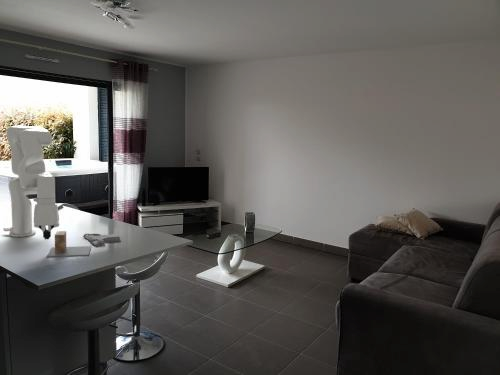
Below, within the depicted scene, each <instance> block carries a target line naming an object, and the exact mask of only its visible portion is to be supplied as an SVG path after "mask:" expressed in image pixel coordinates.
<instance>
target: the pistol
mask: <svg viewBox="0 0 500 375" xmlns="http://www.w3.org/2000/svg"><path fill="white" fill-rule="evenodd" d="M82 237H83V238H84V239H86V240H87V241H89V242H90V245H94V246H96V247H102V246H105V244H106V243H115V242H120V241H121V237H120V235H119V233H114V234H113V233H112V234H100V233H84V234H83V235H82Z"/></svg>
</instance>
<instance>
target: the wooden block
mask: <svg viewBox="0 0 500 375" xmlns="http://www.w3.org/2000/svg"><path fill="white" fill-rule="evenodd" d="M54 247H55V254H57V253H65V251H66V247H67V230H62V231H61V230H60V231H59V230H57V231H56V233H54Z"/></svg>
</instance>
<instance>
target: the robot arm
mask: <svg viewBox="0 0 500 375" xmlns="http://www.w3.org/2000/svg"><path fill="white" fill-rule="evenodd" d="M5 134H6V139H7V141H8V144H9V147H10V158H11V160H10V162H11V164H10V165H11V171H12V173H13V174H14V175H17V176H18V177H14V178H12V179H10V180H9V182H8V188H9V194H10V204H11V226H10V227H9V226H8V227H6V226H4V227H3V231H4V232H8V236H10V237H11V238H12V237H14V238H23V237H25V238H26V237H29V236H33V235H35V234H36V230H34V229H33V227H34V228H37V229H40V230H41V232H42V238H44V240H45V241H46V240H49V239H50V238H51V237H52V233H51V232H52V230H53V229H54V228H59V226H60V215H59V207H58V203H56V177H55V176H54V175H53V174H52V173H50V172H46V164H45V161H44V160H43V159H44V157H45V156H44V155H45V154H44V151H43V150H44V149H43V147H50V146H52V143H53V136H52V134H51V132H50V131H49V130H48V129H46V128H45V127H42V126H27V125H12V126H8V127H7V129H6V133H5ZM29 195H36V198H33V202H36V203H35V205H34V210H33V209H32V205H33V204H32V201H31V199H30V198H28V196H29ZM32 211H33V212H32ZM46 226H48V227H46Z"/></svg>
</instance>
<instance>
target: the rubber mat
mask: <svg viewBox="0 0 500 375" xmlns="http://www.w3.org/2000/svg"><path fill="white" fill-rule="evenodd" d="M91 250H92V246H91V245H87V246H86V245H84V246H83V245H82V246H66V251H65V253H57V254H55V246H54V247H51V248H50V250H49V252H48V253H47V254H46V258H64V257H65V258H66V257H87V256H89V255H90V252H91Z"/></svg>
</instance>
